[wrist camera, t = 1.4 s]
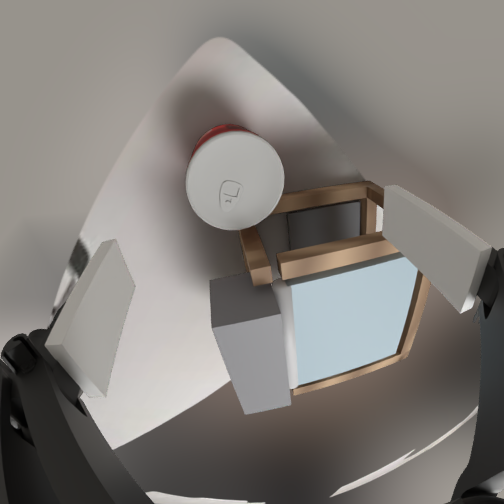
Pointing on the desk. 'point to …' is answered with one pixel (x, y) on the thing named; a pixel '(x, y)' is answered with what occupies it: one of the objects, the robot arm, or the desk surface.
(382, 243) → the frame
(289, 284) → the trapdoor
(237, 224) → the canned food
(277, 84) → the desk surface
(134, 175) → the desk surface
